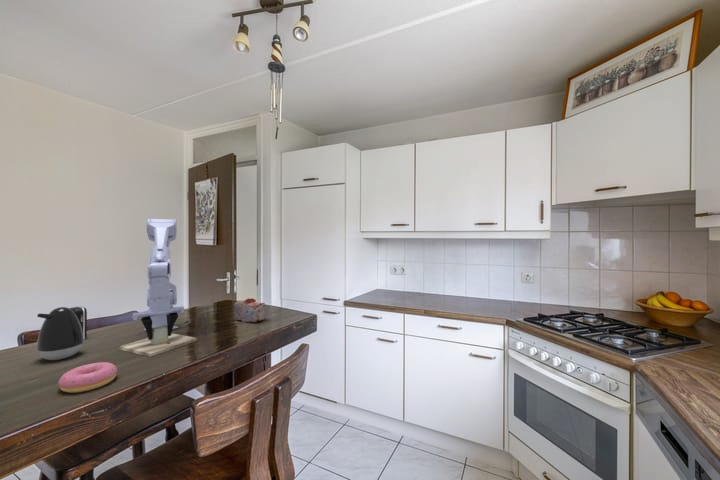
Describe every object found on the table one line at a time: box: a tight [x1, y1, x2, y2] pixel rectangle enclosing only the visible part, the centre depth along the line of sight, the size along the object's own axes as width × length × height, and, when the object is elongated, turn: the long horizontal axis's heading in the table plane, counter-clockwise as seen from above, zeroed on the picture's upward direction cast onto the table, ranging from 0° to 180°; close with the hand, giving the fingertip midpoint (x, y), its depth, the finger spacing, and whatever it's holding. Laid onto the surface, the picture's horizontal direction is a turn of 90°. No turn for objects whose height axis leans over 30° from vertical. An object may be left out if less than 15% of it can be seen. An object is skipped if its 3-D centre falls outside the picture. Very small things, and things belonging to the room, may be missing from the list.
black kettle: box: [36, 306, 85, 361], centre depth 92 cm, size 10×10×15 cm
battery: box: [68, 306, 88, 340], centre depth 109 cm, size 7×4×11 cm, turn 61°
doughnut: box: [58, 361, 119, 394], centre depth 75 cm, size 11×11×4 cm
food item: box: [233, 297, 266, 323], centre depth 134 cm, size 14×8×10 cm, turn 67°
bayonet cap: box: [151, 325, 168, 344], centre depth 103 cm, size 5×6×5 cm
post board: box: [118, 333, 198, 358], centre depth 103 cm, size 16×16×4 cm
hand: (159, 337), depth 103 cm, fingers closed on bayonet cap, 5 cm apart
